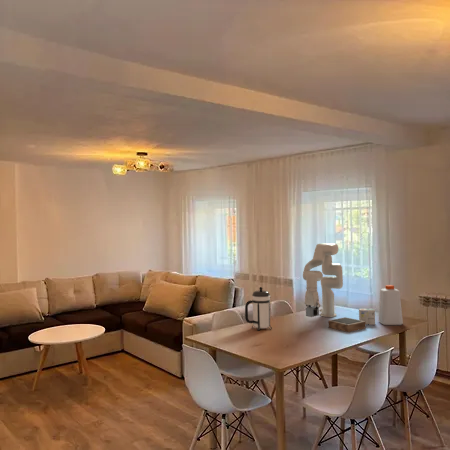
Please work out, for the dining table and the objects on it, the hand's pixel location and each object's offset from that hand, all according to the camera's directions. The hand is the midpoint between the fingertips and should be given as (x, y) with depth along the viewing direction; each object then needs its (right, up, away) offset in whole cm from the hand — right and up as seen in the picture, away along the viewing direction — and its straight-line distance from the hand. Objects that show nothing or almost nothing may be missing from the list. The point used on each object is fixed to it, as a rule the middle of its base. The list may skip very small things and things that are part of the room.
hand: (312, 314), depth 320 cm
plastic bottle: (+59, -9, +8) cm, 60 cm away
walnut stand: (+24, -9, -4) cm, 26 cm away
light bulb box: (+42, -9, +8) cm, 44 cm away
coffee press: (-38, -10, -2) cm, 39 cm away
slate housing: (0, -1, 0) cm, 1 cm away
